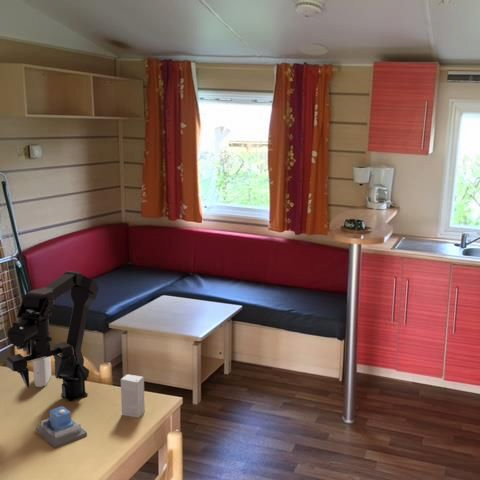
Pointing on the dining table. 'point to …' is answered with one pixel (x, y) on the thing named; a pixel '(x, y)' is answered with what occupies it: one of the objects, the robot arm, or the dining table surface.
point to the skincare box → (132, 395)
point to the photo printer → (42, 371)
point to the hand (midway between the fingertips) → (42, 382)
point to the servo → (60, 418)
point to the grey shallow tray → (60, 433)
